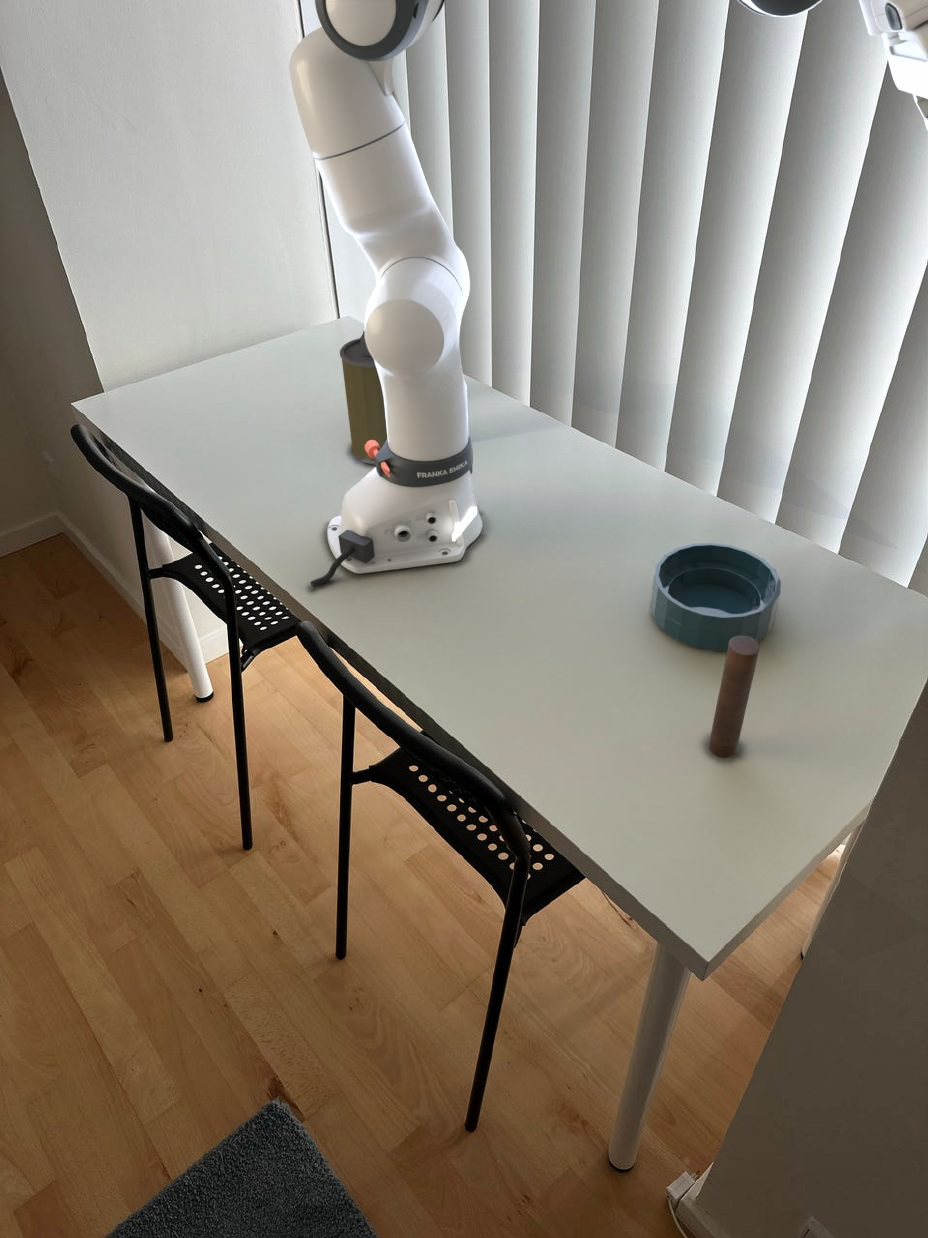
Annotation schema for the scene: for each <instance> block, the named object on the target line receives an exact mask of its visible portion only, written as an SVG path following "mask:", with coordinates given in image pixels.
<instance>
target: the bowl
mask: <svg viewBox="0 0 928 1238" xmlns="http://www.w3.org/2000/svg"><path fill="white" fill-rule="evenodd" d="M781 583H782V581H781V579H780V577H779V575H778V573H777V571H776V569H775V568H774V567H773V566H772V565H771V564H770V563H769V562H767V561H766V559H764V558H763V557H761V556H760V555H757V554H756V553H753V552H752V551H750V550H748V549H744V548H742V547H738V546H735V545H732V544H727V543H726V544H725V543H718V542H717V543H716V542H700V543H699V542H698V543H691V544H687V545H682V546H679V547H676V548H673V549H672V550H671V551H669V552H667V553H665V554H664V555H663V556H662V557H661V558H660V559H659V561H658V562H657V563H656V565H655V569H654V574H653V582H652V590H651V597H650V598H651V599H650V606H649V608H650V611H651V616H652V618H653V621H654V622H655V623H656V624H657V625H658V626H659V628H660V629H661V630H662V631H663V632H664V633H666V635H668V636H670V637H672V638H673V639H675V640H676V641H678V642H680V643H683V644H685V645H688V646H691V647H694V648H696V649H702V650H710V651H715V652H716V651H727V650H728V645H729V641H730V640H731V639H732V638H733V637H736V636H748V637H751V638H753V639H755V640H756V641H757V642H758V643H759V641H761V640H763V639H764V638H766V636H768V634H769V632H770V631H771V630H772V628H773V625H774V622H775V619H776V618H775V617H776V612H777V609H778V604H779V601H780V597H781V590H782V589H781V586H782V585H781Z"/></svg>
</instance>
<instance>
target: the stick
mask: <svg viewBox="0 0 928 1238" xmlns="http://www.w3.org/2000/svg"><path fill="white" fill-rule="evenodd" d="M760 649H761V647H760V644H759V641H758V642H757V641H756V640H755V639H753V638H751V637H748V636H736V637H733V638H732V639H731V640H730V641H729V645H728V650H726V655H725V661H724V666H723V671H722V676H721V681H720V686H719V690H718V697H717V700H716V706H715V711H714V715H713V716H714V717H713V721H712V725H711V726H712V727H711V731H710V737H709V742H708V748H709V750H710V752H711V753H712V754H713V755H715V756H717V757H718V758H731V757H733V756H734V755H736V753H737V750H738V746H739V741H740V737H741V733H742V729H743V724H744V721H745V720H744V719H745V716H746V711H747V706H748V702H749V698H750V693H751V689H752V685H753V680H754V676H755V671H756V667H757V663H758V659H759V654H760Z"/></svg>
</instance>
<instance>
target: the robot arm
mask: <svg viewBox="0 0 928 1238" xmlns="http://www.w3.org/2000/svg"><path fill="white" fill-rule="evenodd" d="M736 1H737V2H738V3H739V4H740V5H742V6H743V7H744V8H746V9H747V10H749V12H752V13H754V14H757V15H759V16H762V17H768V18H770V17H771V18H775V17H776V18H790V17H795V16H799V15H801V14H804V13H806V12H809V11H810V10H812V9H813V8H815V7H816V6H817V5H820V3H821V2H823V0H736ZM445 2H446V0H314V5H315V11H316V14H317V17H318V20H319V23H320V24H321V27H318V28H316V29H314V30H312V31H311V32H309V33H308V34H307V35H305V36H304V37H303V38H302V39H301V40H300V41H299V43H297V45H296V47H295V48H294V50H293V52H292V53H291V56H290V60H289V66H288V67H289V68H288V69H289V77H290V81H291V87H292V91H293V96H294V100H295V103H296V107H297V112H298V115H299V119H300V122H301V125H302V129H303V132H304V135H305V137H306V141H307V143H308V146H309V149H310V151H311V154H312V157H313V158H314V162H315V164H316V167H317V170H318V171H319V174H320V177H321V179H322V182H323V184H324V186H325V189H326V192H327V194H328V197H329V198H330V201H331V205H332V206H333V209H334V212H335V214H336V216H337V219H338V222H339V224H340V225H341V228H342V229H343V230H344V231H345V232H346V233H347V234H349V235H351V236H352V237H353V239H354V240H355V241H356V243H357V245H358V246H359V247H360V249H361V251H362V252H363V253H364V255H365V257H366V259H367V260H368V261H369V263H370V266H371V267H372V271H374V276H375V281H376V286H375V288H374V290H373V292H372V294H371V295H370V298H369V299H368V302H367V304H366V309H365V315H364V316H365V317H364V330H365V341H366V345H367V348H368V350H369V352H370V354H371V356H372V357H373V359H374V362H375V365H376V368H377V372H378V375H379V379H380V382H381V386H382V391H383V397H384V406H385V417H386V427H387V437H388V438H387V440H386V442H385V444H384V445H383V447H382V448H381V447H380V446H379V444H378V443H377V442H376V441H375V440H370V441H368V442H367V444H365V451H366V452H367V453H368V455H369V457H371V458H375V463H376V465H375V467H374V468H373V469H372V470H371V471H369V472H368V473H367V474H366V475H365V476H363V477H362V478H361V479H360V480H359V481H358V482H356V483H355V484H354V485H353V486H352V487H351V488H349V490H347V491H346V492H345V494H344V496H343V499H342V504H341V510H340V515H337V516H335V517H333V518H331V519H330V520H329V523H328V525H327V532H326V533H327V534H326V535H327V542H328V546H329V548H330V551H331V552H332V555H333V556H334V558H335V560H334V561H333V563H332V564H331V566H329V567H330V568H329V570H328V571H327V573H325V574H324V575H322V577H319V578H316V579H313V580H310V585H311V587H312V588H315V587H318V586H320V585H323V584H325V583H327V582H329V581H330V580H331V579H332V578H333V577H334V576H335V573H336V571H337V569H338V568H339V566H342V567H343V568H345V569H346V570H348V571H349V572H353V573H354V574H369V573H378V572H384V571H385V572H386V571H393V570H401V569H408V568H417V567H426V566H432V565H439V564H448V563H449V564H450V563H455V562H458V561H461V560H462V559H463V557H464V555H465V552H466V549H467V548H468V547H469V546H470V545H471V544H472V543H474V542H475V541H476V539H477V538H478V537H479V536H480V535H481V532H482V530H483V519H482V517H481V515H480V514H481V513H480V511H479V509H478V506H477V501H476V497H475V492H474V488H473V482H472V481H473V480H472V474H473V466H474V465H473V464H474V449H473V444H472V443H473V442H472V438H471V435H469V414H468V386H467V383H466V381H465V377H464V372H463V366H462V358H461V349H460V332H461V326H462V325H461V324H462V320H463V319H462V318H463V315H464V311H465V309H466V305H467V302H468V299H469V296H470V291H471V281H470V280H471V279H470V272H469V267H468V263H467V260H466V257H465V255H464V253H463V251H462V250H461V249H460V247H458V245H457V243H456V242H455V239H454V237H453V235H452V233H451V231H450V229H449V227H448V224H447V222H446V221H445V219H444V217H443V215H442V213H441V212H440V210H439V207H438V205H437V204H436V201H435V199H434V198H433V195H432V193H431V190H430V188H429V184H428V183H427V180H426V177H425V174H424V171H423V168H422V166H421V165H422V164H421V162H420V159H419V157H418V153H417V151H416V147H415V145H414V142H413V139H412V135H411V133H410V130H409V127H408V125H407V121H406V119H405V118H406V117H405V115H404V113H403V110H402V107H401V104H400V101H399V98H398V95H397V92H396V88H395V85H394V79H393V62H394V60H395V57H396V56H398V55H399V54H401V53H402V52H404V51H405V50H406V49H408V48H409V47H411V46H413V45H414V44H415V43H416V42H418V41H419V40H420V39H421V38H422V37H423V36H424V35H425V34H426V32H428V30H429V28H430V26H431V25H432V23H433V22H434V21H435V19H436V18H437V17H438V15H440V12H441V11H442V9H443V7H444V5H445ZM858 2H859V5H860V9H861V12H862V16H863V19H864V22H865V26H866V29H867V32H868V35H869V36H871V37H874V36H878V35H881V37H882V41H883V45H884V50H885V53H886V57H887V61H888V62H887V63H888V66H889V68H890V73H891V77H892V79H893V82H894V85H895V86H896V88H897V89H898V90H899V91H901V92H905V93H908V94H910V95H912V98H913V100H914V103H915V105H916V107H917V109H918V111H919V112H920V115H921V116H922V118H923V121H924V122H923V123H924V125H925V128H926V131H927V132H928V0H858Z"/></svg>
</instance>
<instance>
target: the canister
mask: <svg viewBox="0 0 928 1238" xmlns="http://www.w3.org/2000/svg"><path fill="white" fill-rule="evenodd" d="M339 357H340V359H341V364H342V365H341V366H342V372H343V381H344V390H345V399H346V406H347V415H348V422H349V423H348V424H349V432H350V440H351V447H350V448H351V449H350V450H351V455H352V456H353V457H354V459H356V460H357V461H360V462H361V463H364V464H367V465H373V466H376V463H375V458H371V457H369V455H368V453H367V452H366V451H365V444H367V442H368V441H370V440H375V441H376V442H377V443H378V444H379V446H380V447H381V448H382V447H383V445H384V444H385V442H386V440H387V438H388V437H387V427H386V417H385V406H384V397H383V391H382V386H381V382H380V379H379V375H378V372H377V368H376V365H375V362H374V359H373V357H372V356H371V354H370V352H369V350H368V348H367V345H366V341H365V329H363V332H362V334H361V336H360V337H359V338H356V339H352V340H350V341H348V342H346V343H345V344H343V345H342V347H341V348H340V349H339Z"/></svg>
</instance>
